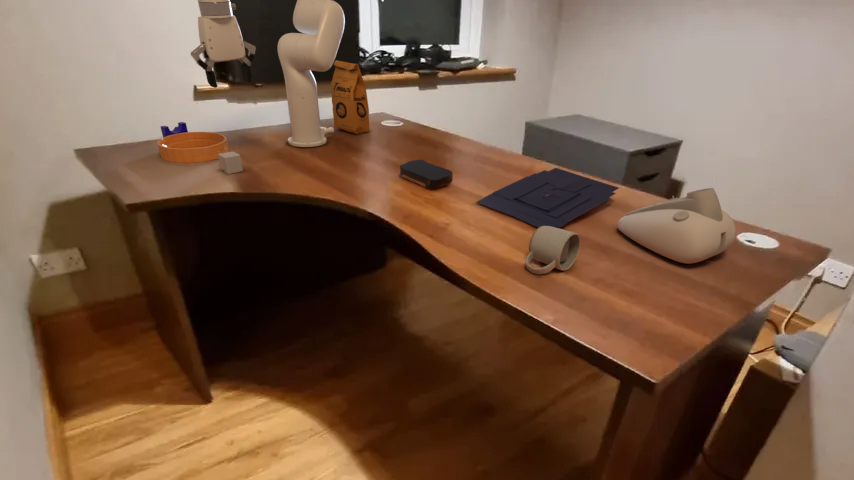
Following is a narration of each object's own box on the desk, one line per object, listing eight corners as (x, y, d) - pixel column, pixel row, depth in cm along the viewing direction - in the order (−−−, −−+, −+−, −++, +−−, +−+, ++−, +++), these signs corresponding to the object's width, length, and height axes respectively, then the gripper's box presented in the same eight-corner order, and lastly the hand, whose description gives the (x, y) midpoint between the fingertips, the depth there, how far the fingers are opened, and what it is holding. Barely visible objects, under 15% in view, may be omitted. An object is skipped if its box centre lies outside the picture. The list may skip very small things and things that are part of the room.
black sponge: (456, 186, 146) (456, 172, 144) (432, 192, 141) (432, 178, 139) (419, 170, 156) (419, 158, 154) (395, 176, 151) (395, 163, 149)
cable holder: (182, 133, 181) (179, 121, 179) (188, 135, 180) (185, 122, 177) (160, 138, 176) (157, 125, 173) (167, 140, 174) (164, 127, 172)
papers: (624, 199, 137) (626, 186, 135) (549, 243, 123) (551, 229, 120) (549, 175, 152) (550, 162, 150) (475, 211, 137) (474, 198, 135)
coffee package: (352, 136, 185) (348, 65, 172) (330, 129, 191) (324, 61, 179) (374, 131, 191) (371, 63, 178) (351, 124, 198) (347, 58, 185)
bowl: (212, 143, 173) (209, 128, 170) (240, 157, 162) (237, 141, 159) (151, 153, 162) (147, 138, 159) (176, 169, 151) (172, 153, 148)
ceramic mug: (544, 251, 114) (549, 217, 109) (577, 263, 110) (584, 228, 105) (514, 268, 108) (518, 232, 103) (549, 282, 103) (554, 245, 99)
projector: (708, 230, 126) (729, 168, 117) (742, 276, 107) (770, 206, 99) (613, 223, 128) (627, 162, 119) (630, 267, 109) (648, 198, 100)
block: (235, 167, 154) (232, 151, 151) (243, 171, 151) (240, 154, 149) (220, 170, 151) (217, 154, 149) (228, 174, 149) (224, 157, 146)
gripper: (241, 6, 140) (253, 77, 150) (175, 10, 131) (193, 86, 141) (254, 9, 136) (267, 82, 146) (187, 13, 126) (206, 91, 137)
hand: (231, 84), depth 144 cm, fingers open, 9 cm apart
